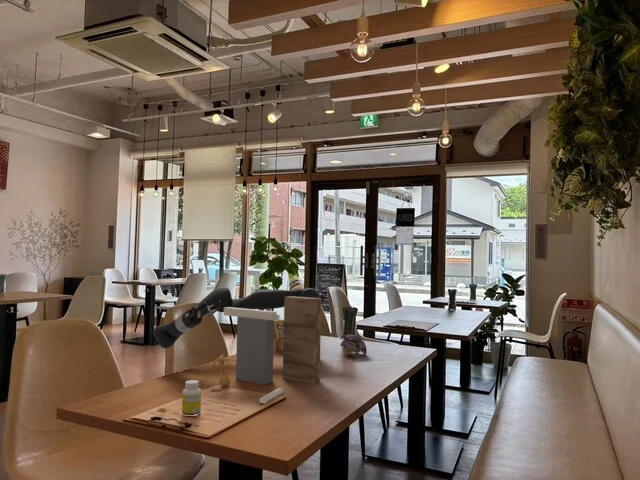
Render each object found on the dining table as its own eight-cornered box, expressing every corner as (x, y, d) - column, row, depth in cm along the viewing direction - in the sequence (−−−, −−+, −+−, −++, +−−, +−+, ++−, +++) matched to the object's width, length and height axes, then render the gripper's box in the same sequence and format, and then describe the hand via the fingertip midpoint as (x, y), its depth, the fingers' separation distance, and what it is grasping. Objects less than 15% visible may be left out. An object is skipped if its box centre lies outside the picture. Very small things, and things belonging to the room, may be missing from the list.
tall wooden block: (289, 376, 196) (291, 296, 197) (319, 381, 188) (321, 298, 189) (282, 378, 191) (284, 296, 192) (312, 384, 184) (314, 299, 185)
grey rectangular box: (244, 376, 193) (245, 315, 194) (272, 382, 186) (274, 318, 187) (235, 379, 189) (237, 317, 190) (264, 384, 182) (266, 320, 182)
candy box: (282, 348, 254) (283, 318, 254) (287, 349, 250) (288, 319, 251) (268, 350, 248) (269, 320, 249) (273, 351, 245) (273, 321, 245)
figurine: (237, 386, 178) (238, 353, 178) (228, 390, 172) (228, 356, 173) (218, 384, 181) (219, 351, 182) (208, 387, 176) (209, 354, 176)
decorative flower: (375, 337, 236) (347, 328, 233) (371, 361, 231) (342, 352, 229) (364, 340, 249) (337, 332, 246) (360, 363, 245) (332, 355, 242)
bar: (228, 314, 197) (228, 307, 197) (276, 319, 185) (276, 311, 185) (223, 315, 195) (223, 307, 195) (271, 320, 182) (271, 312, 182)
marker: (257, 409, 156) (279, 395, 171) (262, 406, 155) (283, 393, 170) (254, 401, 157) (275, 388, 172) (259, 398, 156) (280, 386, 171)
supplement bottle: (183, 411, 149) (184, 379, 149) (201, 411, 149) (202, 379, 150) (180, 417, 143) (181, 384, 144) (199, 417, 144) (200, 383, 144)
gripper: (172, 313, 202) (197, 296, 195) (197, 310, 214) (222, 294, 207) (178, 330, 200) (204, 313, 193) (203, 326, 212) (228, 310, 205)
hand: (213, 303), depth 200 cm, fingers open, 8 cm apart
